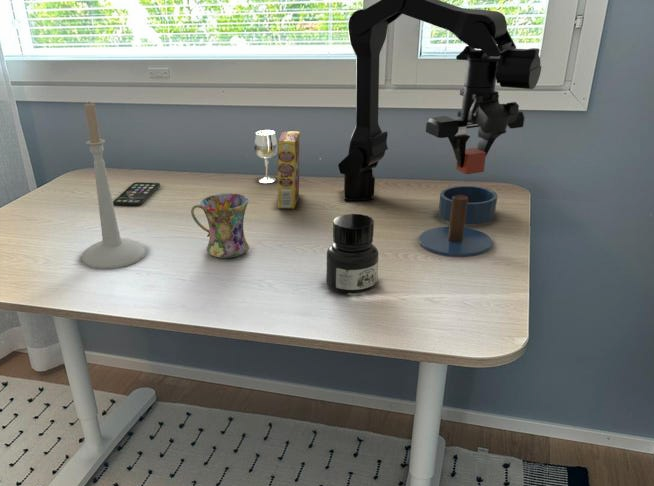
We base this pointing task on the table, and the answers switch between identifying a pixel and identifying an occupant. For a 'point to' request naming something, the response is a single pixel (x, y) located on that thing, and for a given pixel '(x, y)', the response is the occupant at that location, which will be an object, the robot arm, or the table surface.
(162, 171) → the table surface
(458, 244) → the tin lid
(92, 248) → the candlestick
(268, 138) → the wineglass
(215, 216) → the mug
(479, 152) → the block
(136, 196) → the smartphone
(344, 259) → the ink bottle
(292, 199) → the candy box
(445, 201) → the tin
